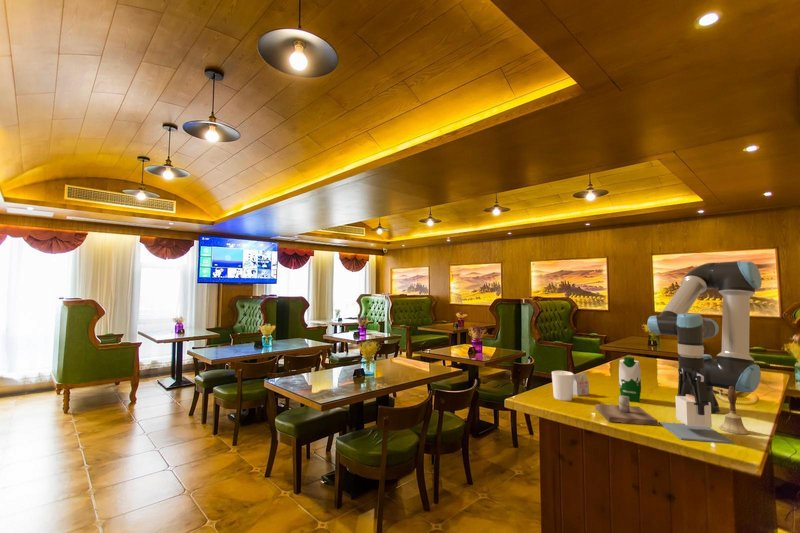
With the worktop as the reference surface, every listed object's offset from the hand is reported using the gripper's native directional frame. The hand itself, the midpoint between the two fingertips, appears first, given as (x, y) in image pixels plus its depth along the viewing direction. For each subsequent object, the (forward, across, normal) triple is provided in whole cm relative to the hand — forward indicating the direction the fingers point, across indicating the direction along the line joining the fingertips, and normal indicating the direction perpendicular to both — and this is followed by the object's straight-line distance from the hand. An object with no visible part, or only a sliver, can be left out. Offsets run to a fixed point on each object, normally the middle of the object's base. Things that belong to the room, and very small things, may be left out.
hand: (693, 419), depth 136 cm
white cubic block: (+1, 0, 0) cm, 1 cm away
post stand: (+5, +14, +18) cm, 23 cm away
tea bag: (+5, +45, +27) cm, 53 cm away
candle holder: (+5, +36, +37) cm, 52 cm away
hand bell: (+5, +6, -16) cm, 18 cm away
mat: (+5, 0, 0) cm, 5 cm away
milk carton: (+5, +41, +6) cm, 42 cm away
